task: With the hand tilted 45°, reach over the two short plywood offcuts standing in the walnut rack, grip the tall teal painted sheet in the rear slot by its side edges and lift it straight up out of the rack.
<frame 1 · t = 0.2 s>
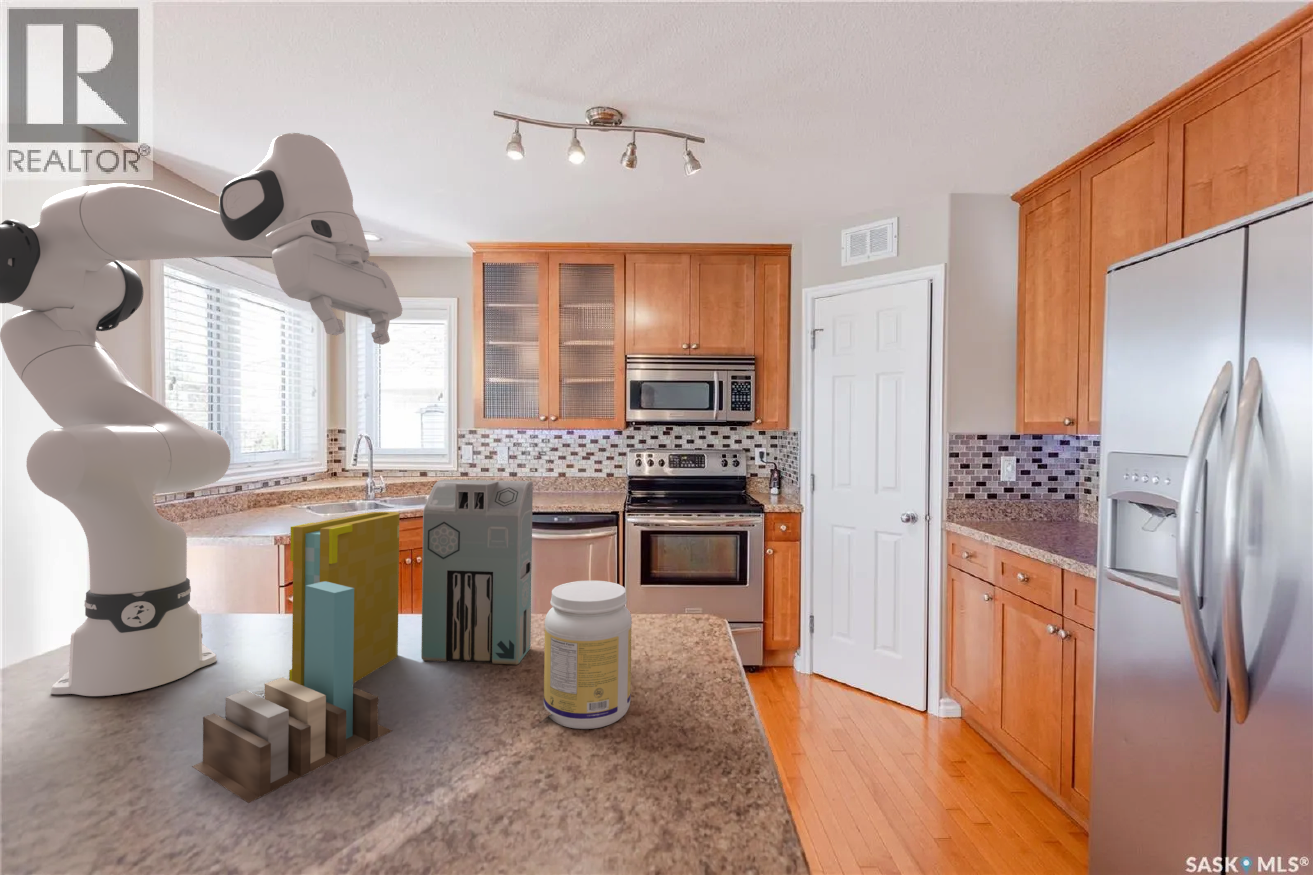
hand: (360, 338, 81), 52 cm above the countertop, tool tilted 20°, fingers open, 8 cm apart
supplement tub: (587, 711, 80), on the countertop
rack: (298, 760, 66), on the countertop
device: (477, 656, 98), on the countertop
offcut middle: (293, 749, 66), point 1 cm above the countertop, touching rack
tall sheet: (328, 733, 69), point 1 cm above the countertop, touching rack
book: (353, 682, 87), on the countertop
offcut front: (255, 766, 63), point 1 cm above the countertop, touching rack
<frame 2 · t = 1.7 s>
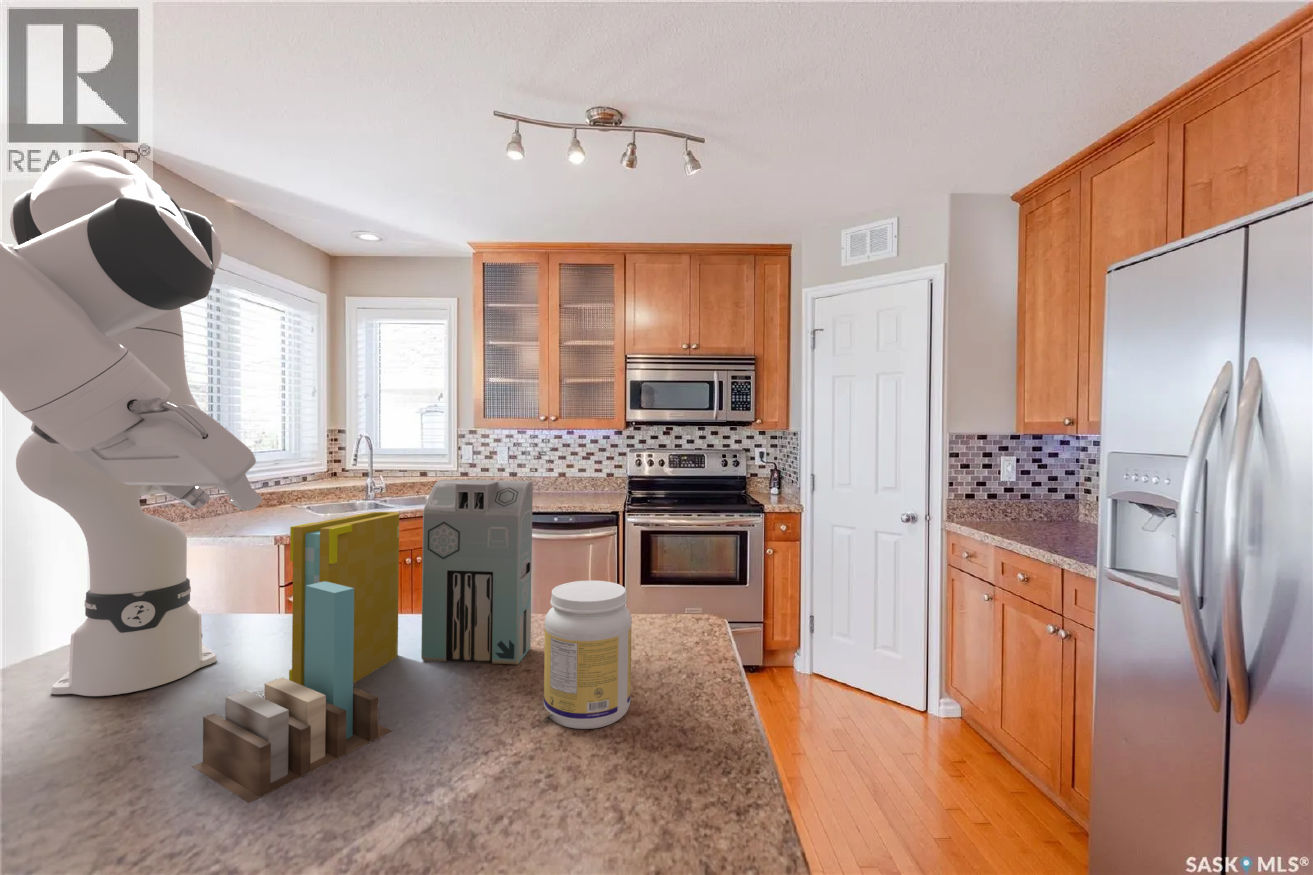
hand: (226, 504, 60), 31 cm above the countertop, tool tilted 45°, fingers open, 8 cm apart
nothing on the countertop moved.
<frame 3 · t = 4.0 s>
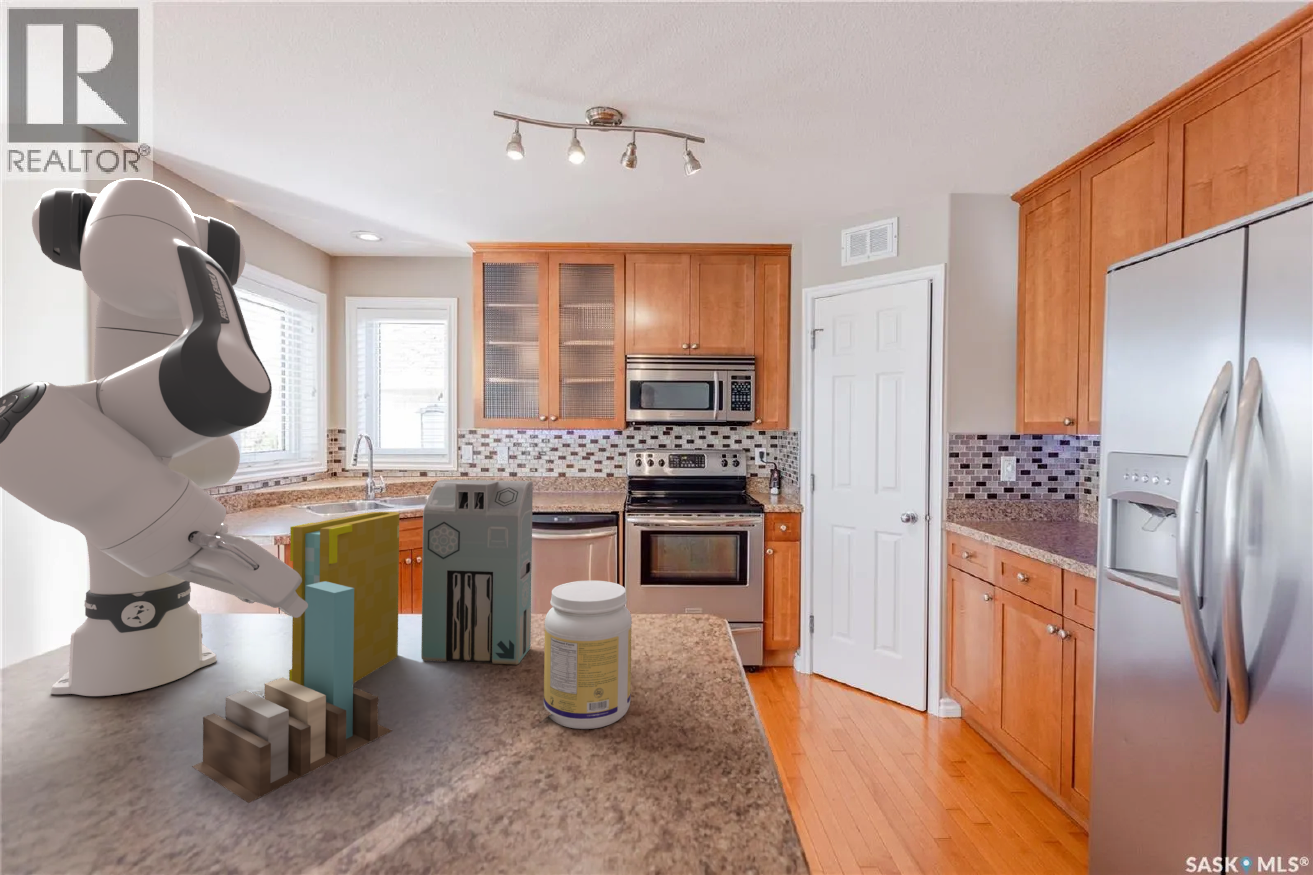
hand: (276, 604, 64), 19 cm above the countertop, tool tilted 45°, fingers open, 8 cm apart
nothing on the countertop moved.
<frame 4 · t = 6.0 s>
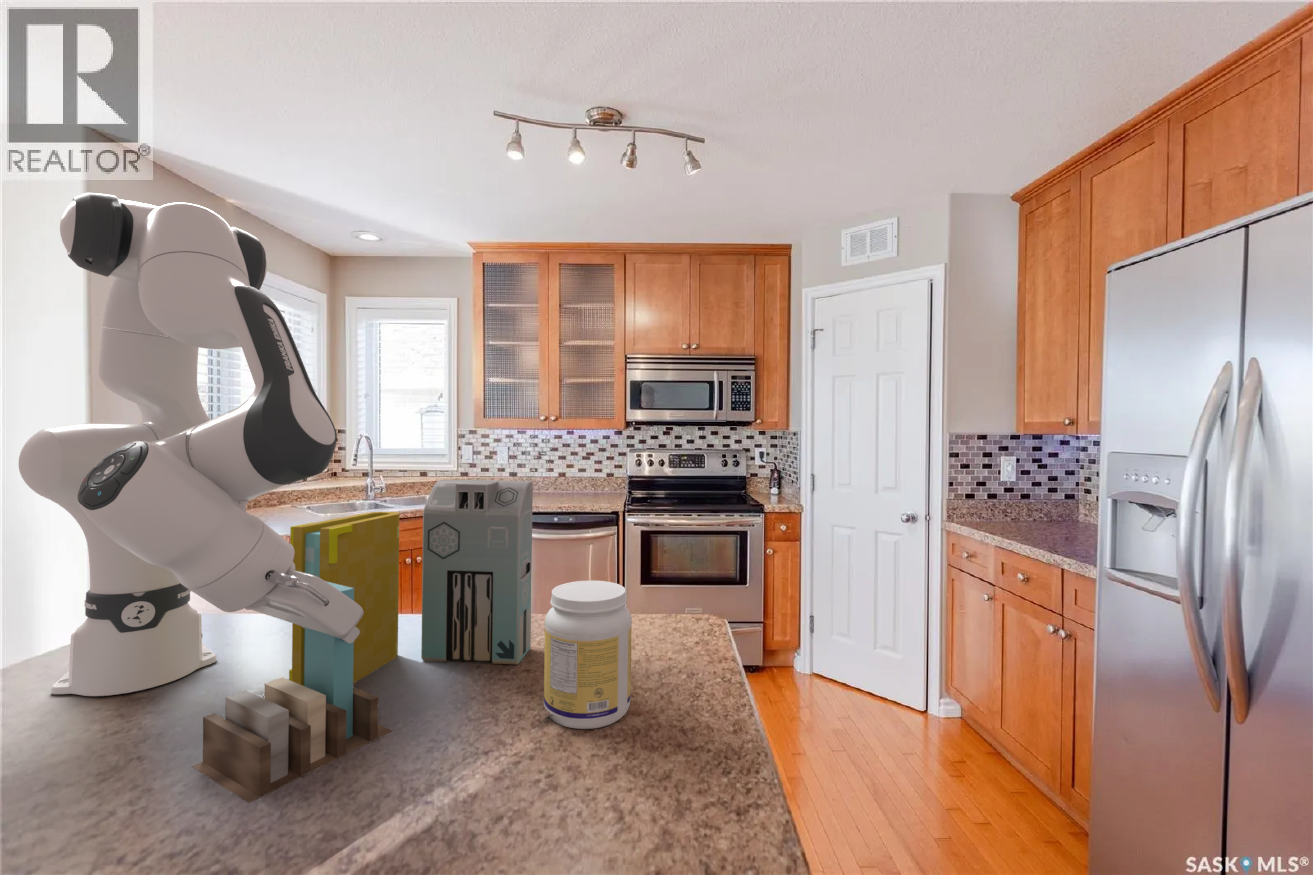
hand: (334, 631, 70), 14 cm above the countertop, tool tilted 45°, fingers closed on tall sheet, 6 cm apart
tall sheet: (328, 733, 69), point 1 cm above the countertop, touching gripper, rack
everything else where it was.
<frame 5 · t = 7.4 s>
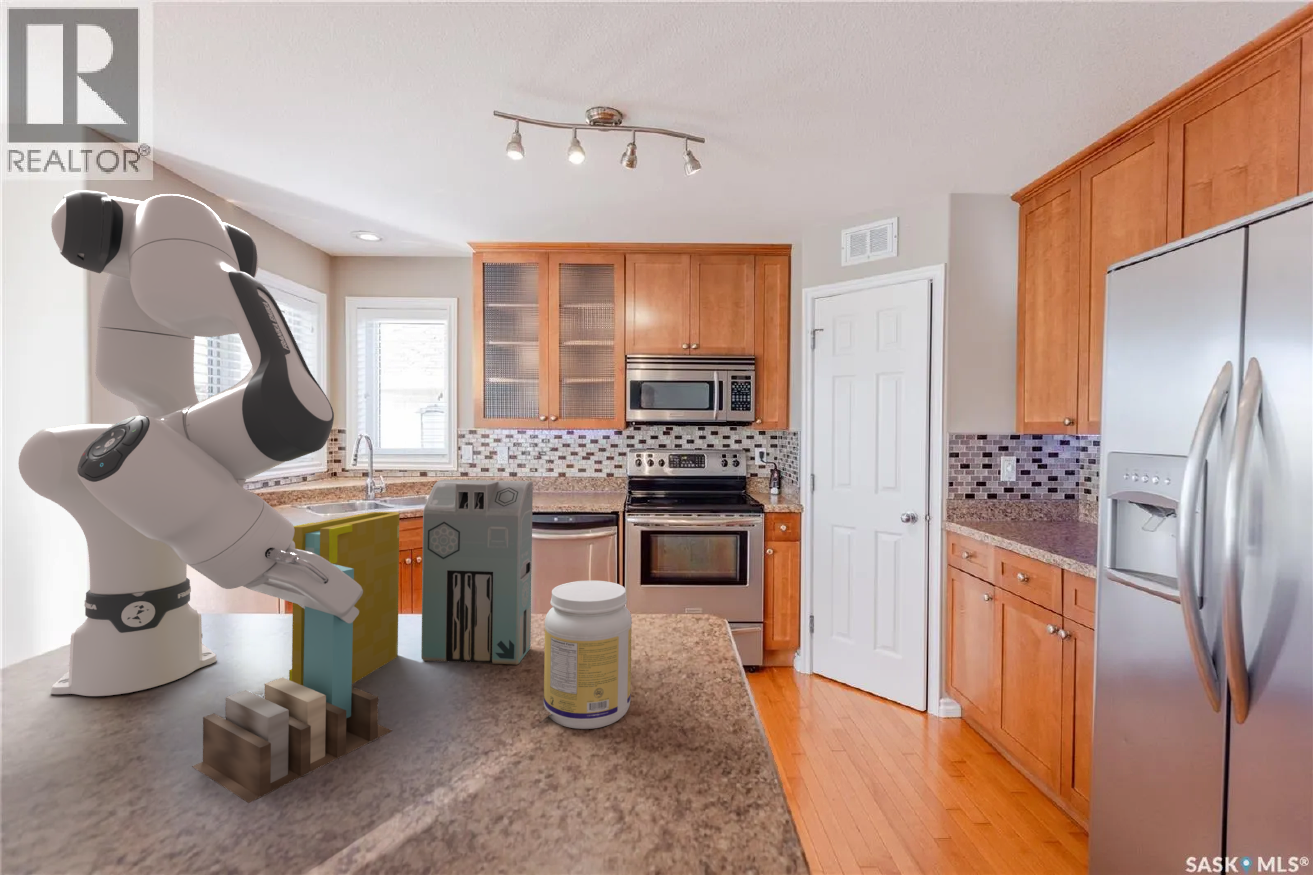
hand: (333, 611, 70), 16 cm above the countertop, tool tilted 45°, fingers closed on tall sheet, 6 cm apart
tall sheet: (326, 713, 70), point 4 cm above the countertop, touching gripper
everything else where it was.
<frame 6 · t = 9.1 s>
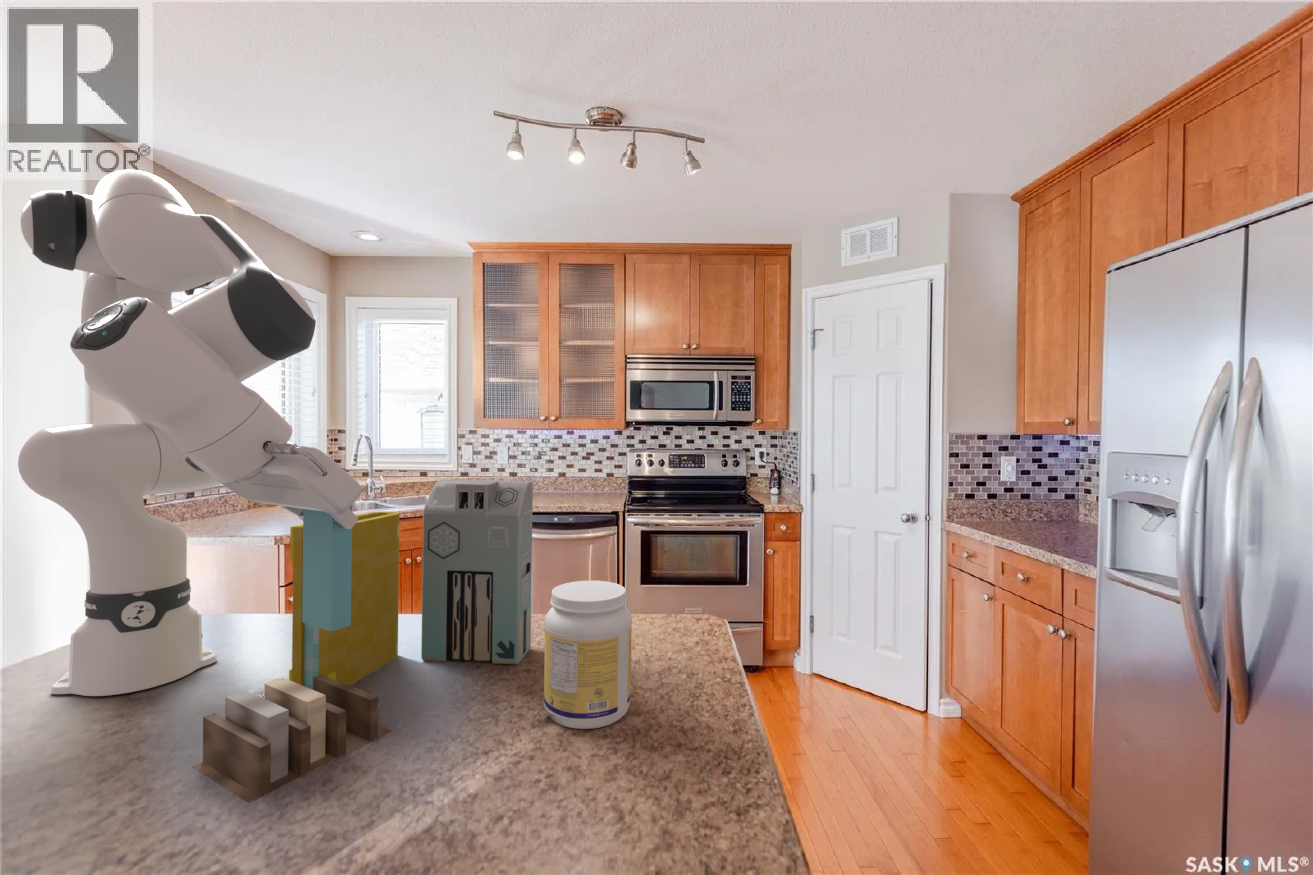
hand: (332, 521, 70), 27 cm above the countertop, tool tilted 45°, fingers closed on tall sheet, 6 cm apart
tall sheet: (326, 623, 69), point 15 cm above the countertop, touching gripper
everything else where it was.
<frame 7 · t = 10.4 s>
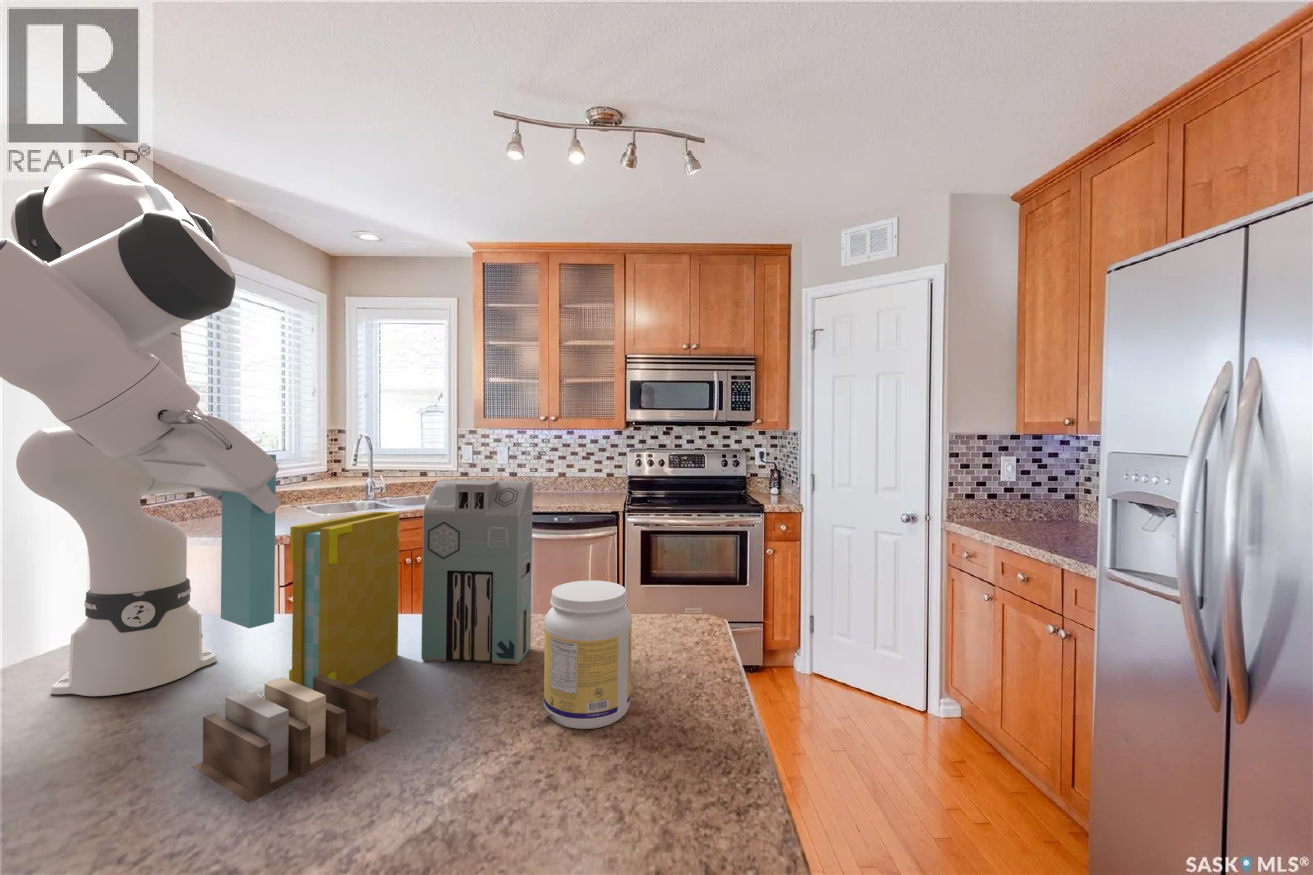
hand: (254, 505, 62), 30 cm above the countertop, tool tilted 45°, fingers closed on tall sheet, 6 cm apart
tall sheet: (247, 620, 62), point 18 cm above the countertop, touching gripper
everything else where it was.
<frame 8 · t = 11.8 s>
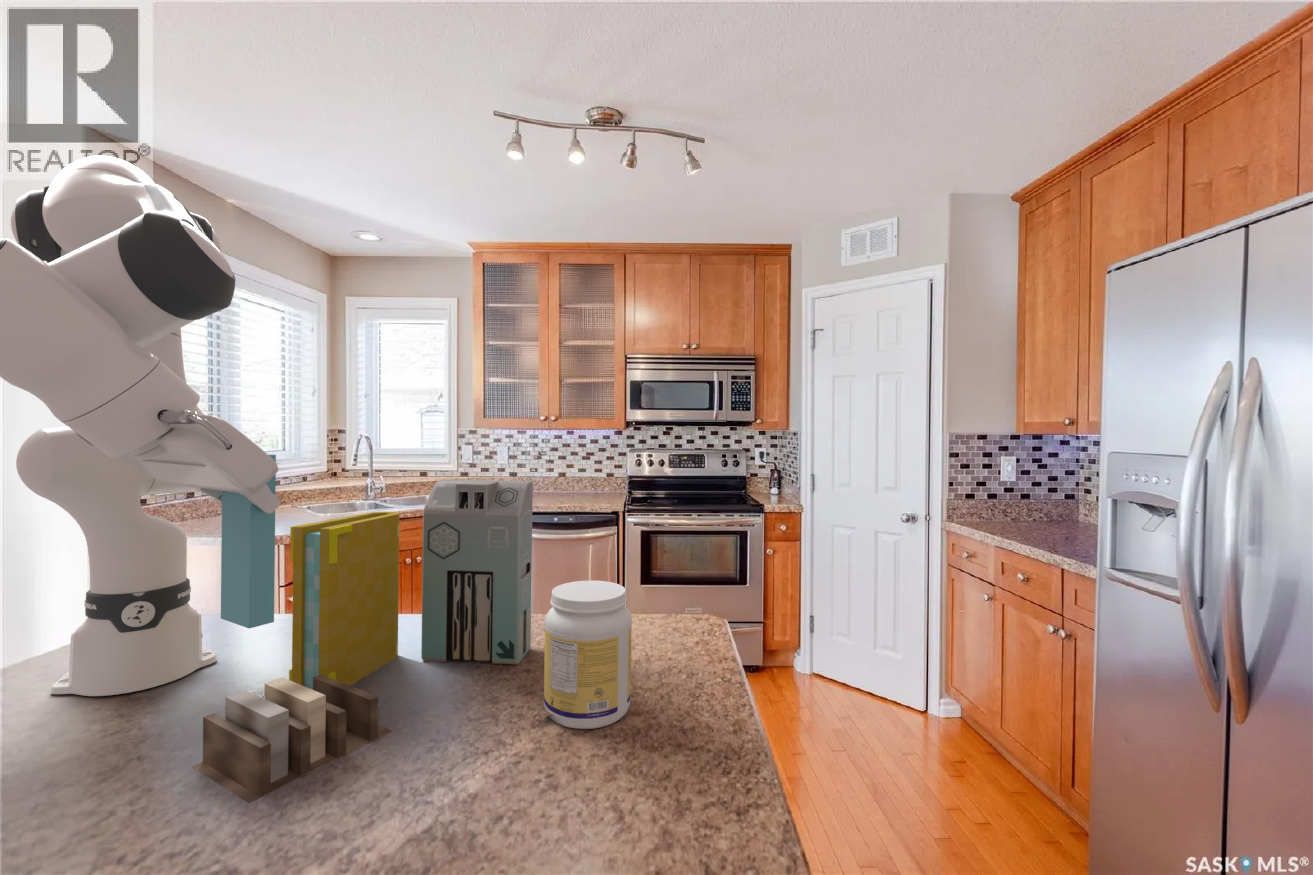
hand: (254, 505, 62), 30 cm above the countertop, tool tilted 45°, fingers closed on tall sheet, 6 cm apart
tall sheet: (247, 620, 62), point 18 cm above the countertop, touching gripper
everything else where it was.
at the end: tall sheet inside the target area (4.6 cm from its centre), point 17.9 cm above the countertop; the gripper is holding tall sheet; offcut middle moved 0.0 cm from its start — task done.
